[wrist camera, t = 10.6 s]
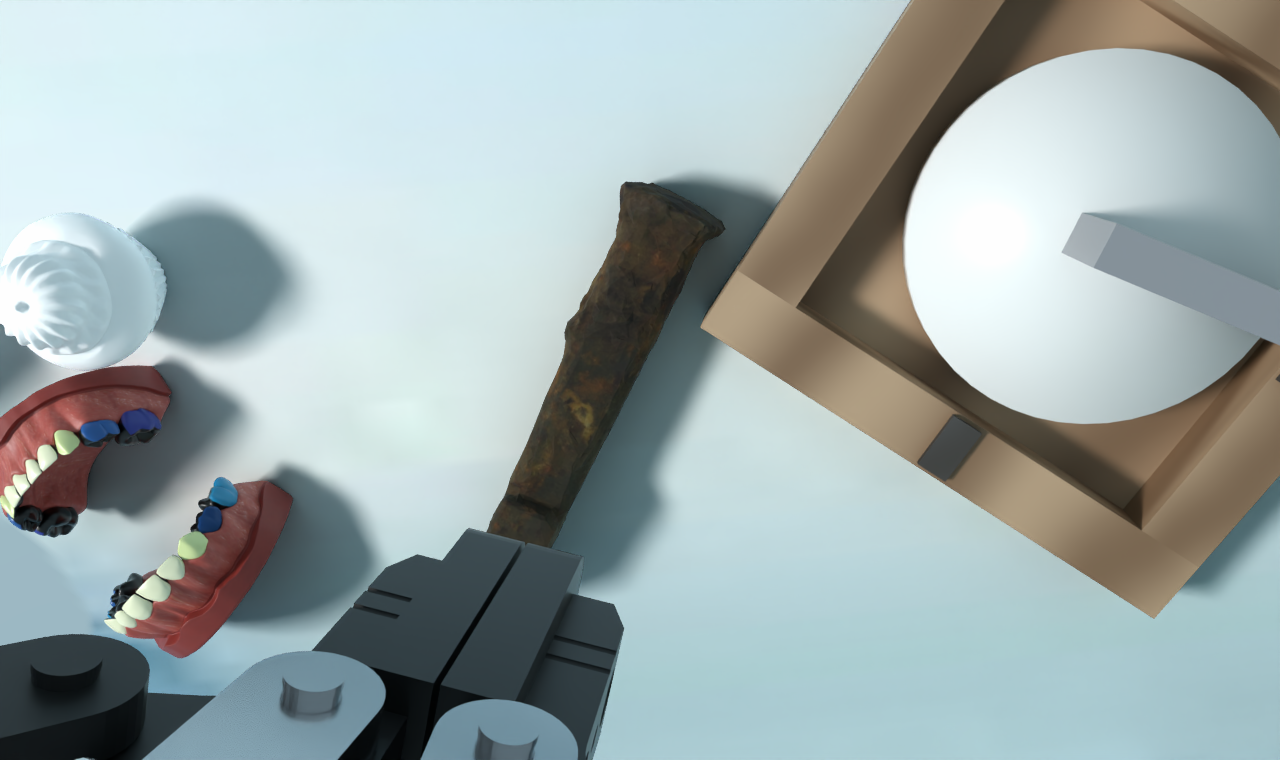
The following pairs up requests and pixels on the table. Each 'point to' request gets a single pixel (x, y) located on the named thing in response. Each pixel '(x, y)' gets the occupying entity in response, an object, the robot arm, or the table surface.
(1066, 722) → the table surface
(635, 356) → the hand tool
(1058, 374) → the dial
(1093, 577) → the wooden frame
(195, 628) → the teeth model
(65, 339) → the white fluted cup
